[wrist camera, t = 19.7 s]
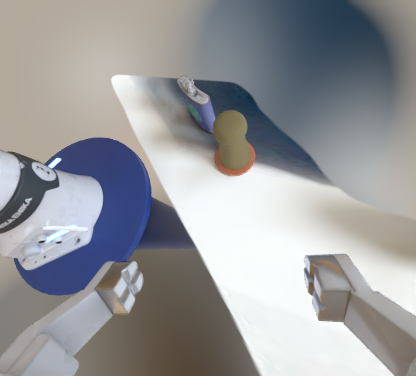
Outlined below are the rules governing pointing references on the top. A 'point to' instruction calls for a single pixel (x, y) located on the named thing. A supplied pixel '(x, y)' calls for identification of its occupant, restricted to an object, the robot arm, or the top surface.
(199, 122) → the flask
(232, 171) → the coaster
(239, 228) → the top surface
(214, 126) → the cork
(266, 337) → the top surface
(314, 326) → the top surface
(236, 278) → the top surface
